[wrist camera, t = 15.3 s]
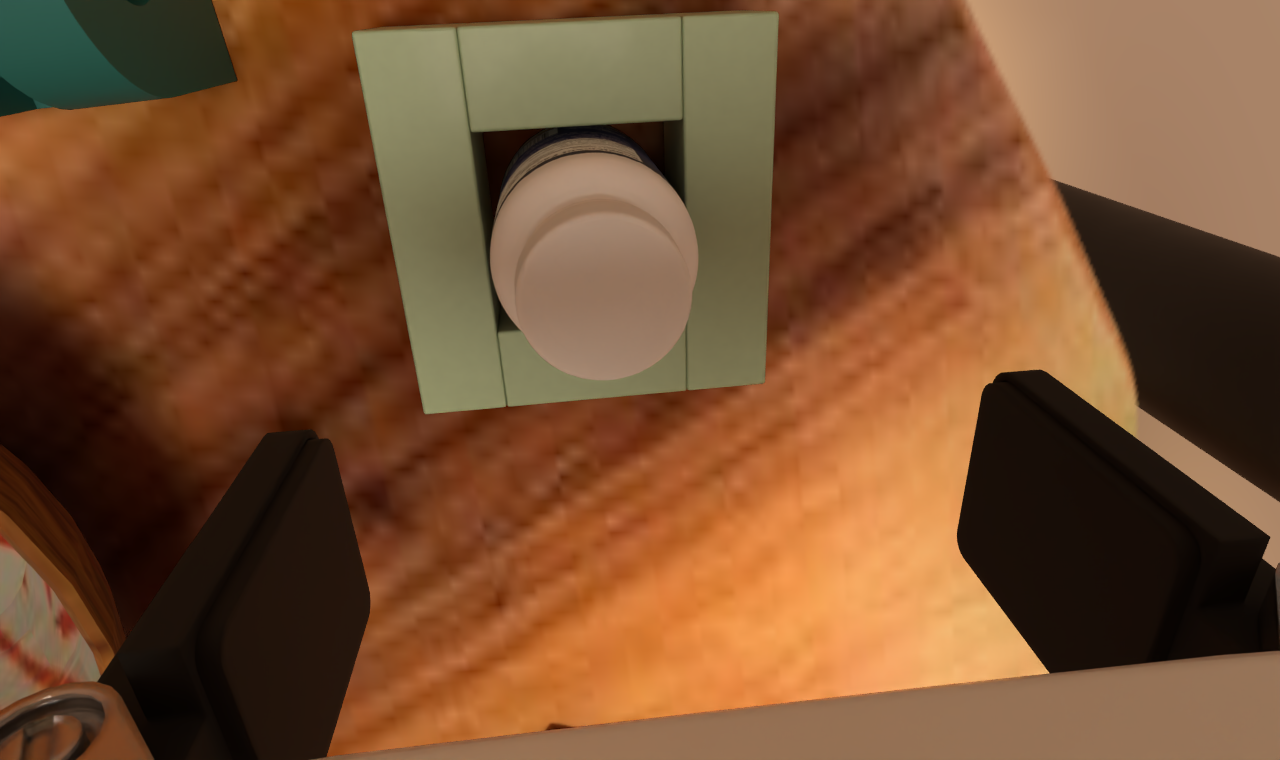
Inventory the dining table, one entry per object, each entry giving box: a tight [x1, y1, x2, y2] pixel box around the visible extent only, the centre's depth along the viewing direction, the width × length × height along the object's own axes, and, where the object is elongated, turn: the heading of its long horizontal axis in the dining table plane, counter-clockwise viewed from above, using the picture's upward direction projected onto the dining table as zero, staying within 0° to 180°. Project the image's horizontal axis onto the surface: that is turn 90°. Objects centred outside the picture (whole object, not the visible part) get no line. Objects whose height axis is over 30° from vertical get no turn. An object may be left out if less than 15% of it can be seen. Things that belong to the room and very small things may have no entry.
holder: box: [352, 10, 779, 414], centre depth 24 cm, size 11×11×4 cm
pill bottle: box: [490, 125, 698, 380], centre depth 21 cm, size 5×5×10 cm
